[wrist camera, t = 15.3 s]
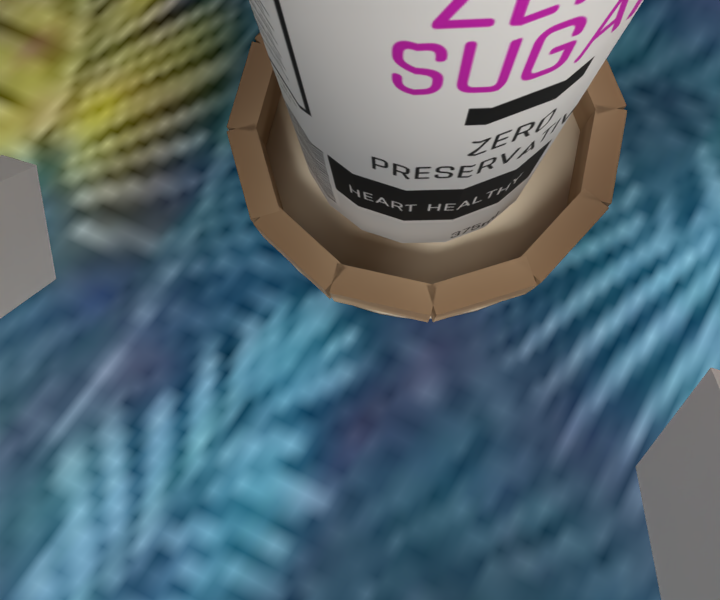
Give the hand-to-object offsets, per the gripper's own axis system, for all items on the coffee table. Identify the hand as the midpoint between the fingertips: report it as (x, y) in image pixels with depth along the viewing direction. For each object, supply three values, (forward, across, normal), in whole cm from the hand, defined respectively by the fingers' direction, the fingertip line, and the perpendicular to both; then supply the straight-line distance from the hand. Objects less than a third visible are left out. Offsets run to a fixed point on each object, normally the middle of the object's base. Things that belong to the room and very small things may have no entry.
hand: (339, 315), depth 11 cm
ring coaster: (+12, 0, 0) cm, 12 cm away
